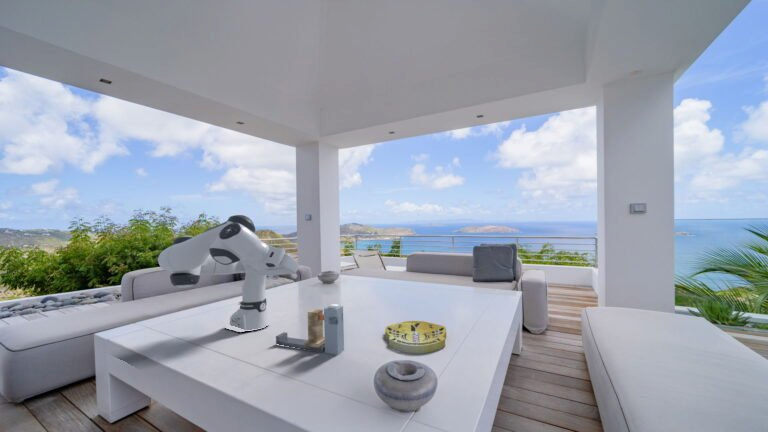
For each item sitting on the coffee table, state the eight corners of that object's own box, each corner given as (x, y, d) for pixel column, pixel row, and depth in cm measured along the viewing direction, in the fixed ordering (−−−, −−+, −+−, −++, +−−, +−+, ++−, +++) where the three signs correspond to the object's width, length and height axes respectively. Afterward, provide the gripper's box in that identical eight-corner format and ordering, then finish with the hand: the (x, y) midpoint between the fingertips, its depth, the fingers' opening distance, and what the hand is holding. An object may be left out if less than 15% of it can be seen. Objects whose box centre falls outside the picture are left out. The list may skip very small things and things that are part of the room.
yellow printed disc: (380, 345, 118) (387, 320, 148) (381, 353, 118) (387, 327, 148) (451, 346, 115) (443, 320, 145) (451, 354, 115) (443, 327, 145)
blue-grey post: (325, 353, 119) (323, 306, 119) (331, 348, 124) (330, 303, 124) (337, 355, 117) (336, 307, 117) (344, 349, 121) (342, 304, 122)
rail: (276, 345, 128) (275, 336, 128) (283, 341, 133) (283, 332, 133) (322, 352, 119) (322, 342, 119) (329, 347, 124) (329, 338, 124)
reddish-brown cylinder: (318, 320, 122) (318, 314, 122) (321, 318, 124) (321, 313, 124) (329, 321, 120) (329, 315, 120) (332, 320, 122) (332, 314, 122)
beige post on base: (303, 345, 122) (303, 312, 122) (313, 339, 128) (313, 308, 128) (318, 347, 119) (317, 314, 119) (327, 341, 125) (326, 309, 126)
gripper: (237, 266, 107) (263, 285, 116) (278, 263, 98) (303, 284, 107) (246, 252, 111) (270, 271, 120) (286, 248, 102) (309, 269, 111)
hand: (286, 277), depth 113 cm, fingers open, 8 cm apart
